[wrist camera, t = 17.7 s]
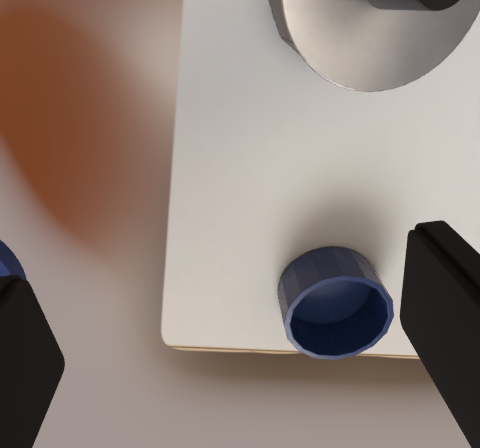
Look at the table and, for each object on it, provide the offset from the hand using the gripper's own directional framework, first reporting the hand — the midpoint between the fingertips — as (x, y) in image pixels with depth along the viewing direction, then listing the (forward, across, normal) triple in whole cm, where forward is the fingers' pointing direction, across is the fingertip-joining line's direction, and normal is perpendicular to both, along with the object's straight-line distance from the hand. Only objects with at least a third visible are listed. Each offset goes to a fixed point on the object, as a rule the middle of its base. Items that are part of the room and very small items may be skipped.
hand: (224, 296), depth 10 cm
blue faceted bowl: (+28, -9, +23) cm, 38 cm away
